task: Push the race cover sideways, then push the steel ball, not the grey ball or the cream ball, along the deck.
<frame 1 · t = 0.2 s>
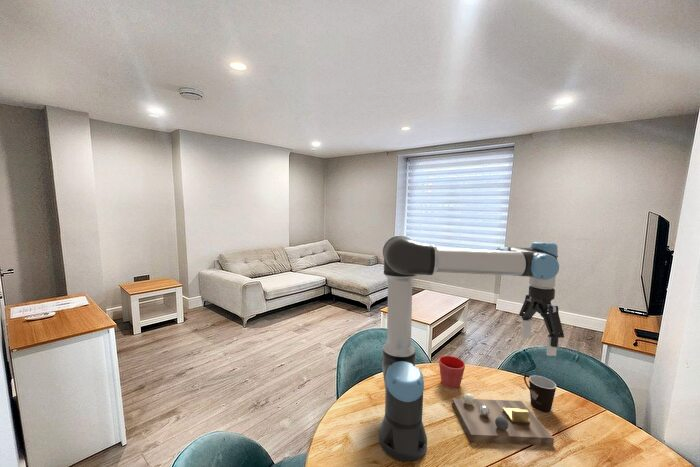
hand: (538, 345, 100), 27 cm above the table, fingers open, 13 cm apart
flower pot: (450, 383, 122), on the table
cream ball: (468, 399, 105), point 4 cm above the table, touching deck
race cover: (516, 410, 99), point 5 cm above the table, slide at 0.0 cm
grey ball: (501, 423, 93), point 4 cm above the table, touching deck
steel ball: (484, 411, 99), point 4 cm above the table, touching deck
deck: (498, 423, 99), on the table
coffee mug: (538, 404, 110), on the table
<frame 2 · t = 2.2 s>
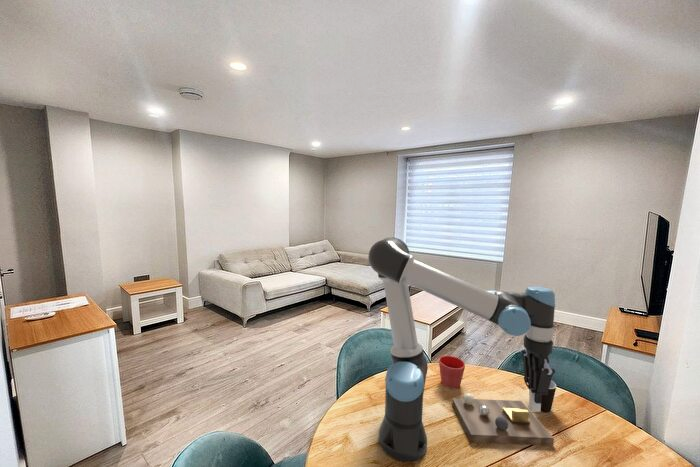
hand: (534, 410, 89), 12 cm above the table, fingers closed
nothing on the table moved.
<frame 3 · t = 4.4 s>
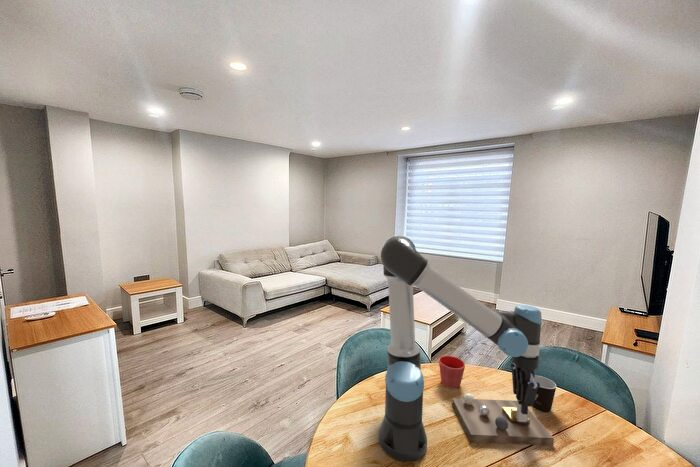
hand: (521, 420, 96), 4 cm above the table, fingers closed
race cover: (515, 409, 99), point 5 cm above the table, slide at 0.5 cm, touching gripper
everything else where it was.
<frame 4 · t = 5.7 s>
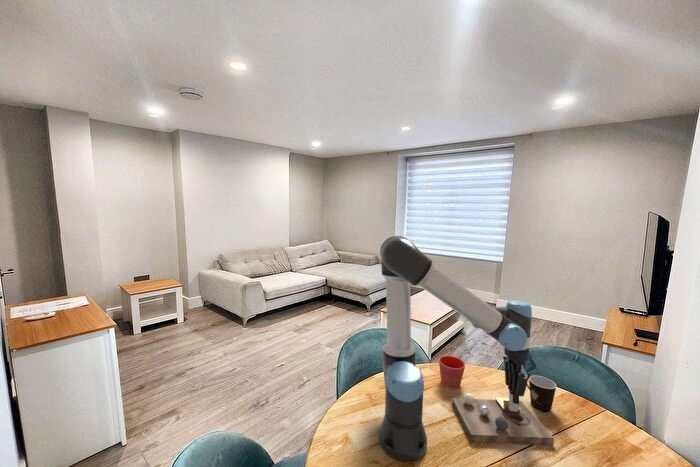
hand: (513, 409, 101), 4 cm above the table, fingers closed
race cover: (507, 400, 104), point 5 cm above the table, slide at 5.7 cm, touching gripper
everything else where it was.
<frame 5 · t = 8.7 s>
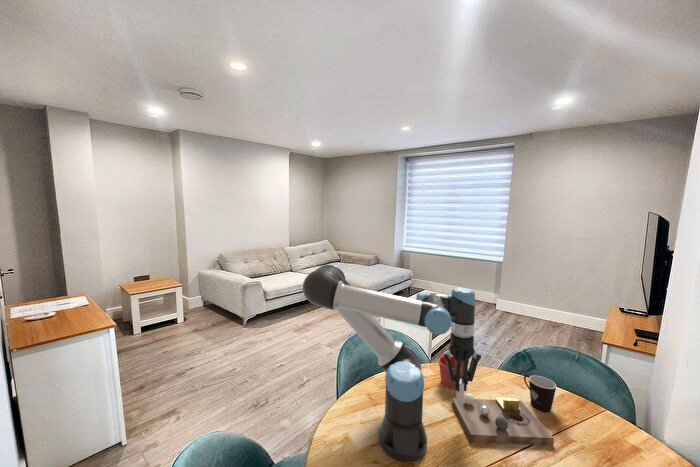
hand: (459, 399, 99), 8 cm above the table, fingers closed
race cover: (507, 400, 104), point 5 cm above the table, slide at 5.7 cm
everything else where it was.
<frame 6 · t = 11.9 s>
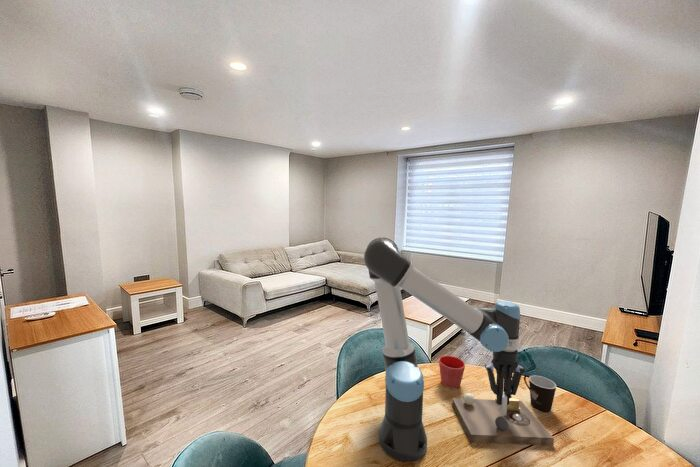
hand: (502, 412, 99), 4 cm above the table, fingers closed
steel ball: (517, 419, 99), point 2 cm above the table, tilted 62°
everything else where it was.
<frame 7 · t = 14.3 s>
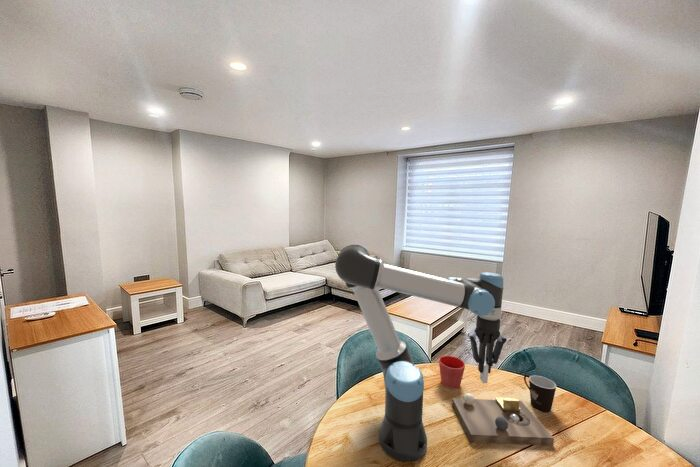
hand: (483, 380, 101), 13 cm above the table, fingers closed
steel ball: (514, 419, 99), point 2 cm above the table, tilted 28°
everything else where it was.
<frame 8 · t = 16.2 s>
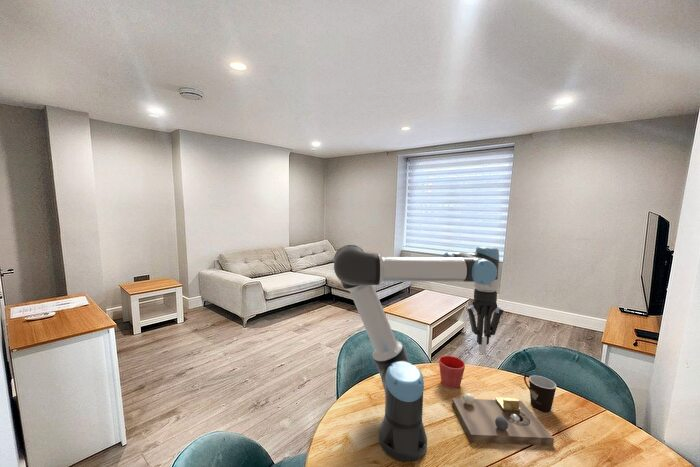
hand: (482, 352, 104), 22 cm above the table, fingers closed
steel ball: (514, 419, 99), point 2 cm above the table, tilted 34°
everything else where it was.
at the end: steel ball 0.3 cm from the target spot in the deck, point 1.7 cm above the deck's base; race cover slide at 5.7 cm; grey ball moved 0.0 cm from its start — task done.
